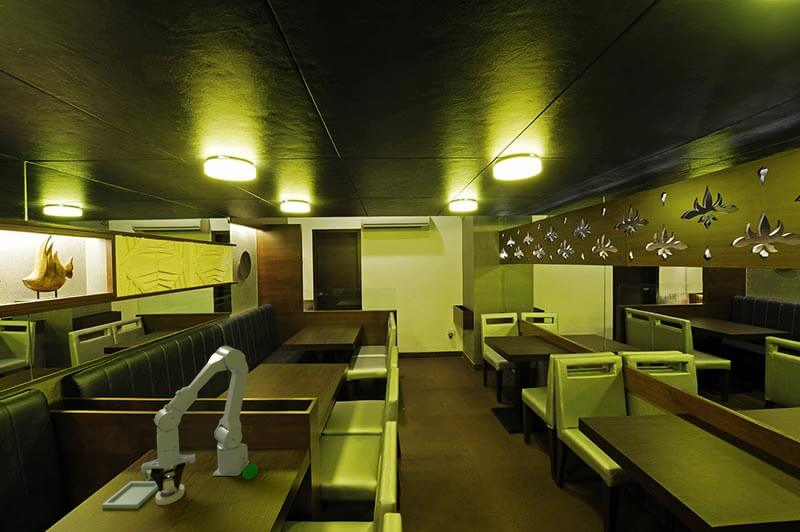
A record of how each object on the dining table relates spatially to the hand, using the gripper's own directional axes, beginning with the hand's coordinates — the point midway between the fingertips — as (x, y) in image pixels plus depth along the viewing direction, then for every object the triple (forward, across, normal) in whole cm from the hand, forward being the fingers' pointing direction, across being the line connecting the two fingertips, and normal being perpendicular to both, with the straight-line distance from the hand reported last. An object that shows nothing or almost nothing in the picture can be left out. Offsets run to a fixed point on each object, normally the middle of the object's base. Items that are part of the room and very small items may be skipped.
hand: (170, 488), depth 111 cm
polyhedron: (+3, -24, -1) cm, 24 cm away
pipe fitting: (+3, +9, -16) cm, 19 cm away
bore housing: (+3, 0, 0) cm, 3 cm away
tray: (+3, +11, -4) cm, 12 cm away
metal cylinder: (+2, 0, 0) cm, 2 cm away
